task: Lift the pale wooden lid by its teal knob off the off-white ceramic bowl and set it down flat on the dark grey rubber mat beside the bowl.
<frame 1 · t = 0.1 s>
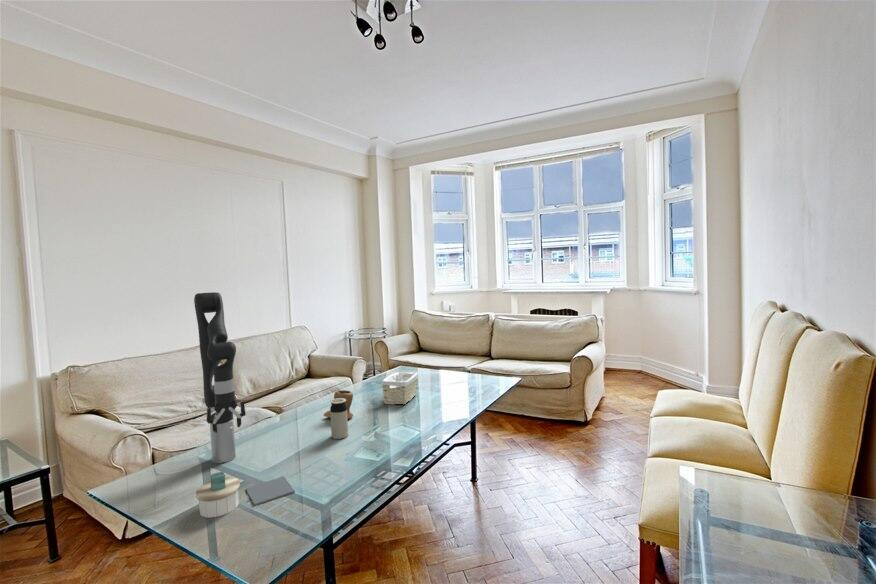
hand: (227, 429, 175), 17 cm above the table, tool pointing down, fingers open, 8 cm apart
travel mug: (340, 436, 208), on the table
lid: (218, 490, 147), point 6 cm above the table, touching bowl
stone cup: (340, 417, 234), on the table
mat: (270, 490, 158), on the table
bowl: (219, 507, 148), on the table
storage basket: (401, 399, 263), on the table
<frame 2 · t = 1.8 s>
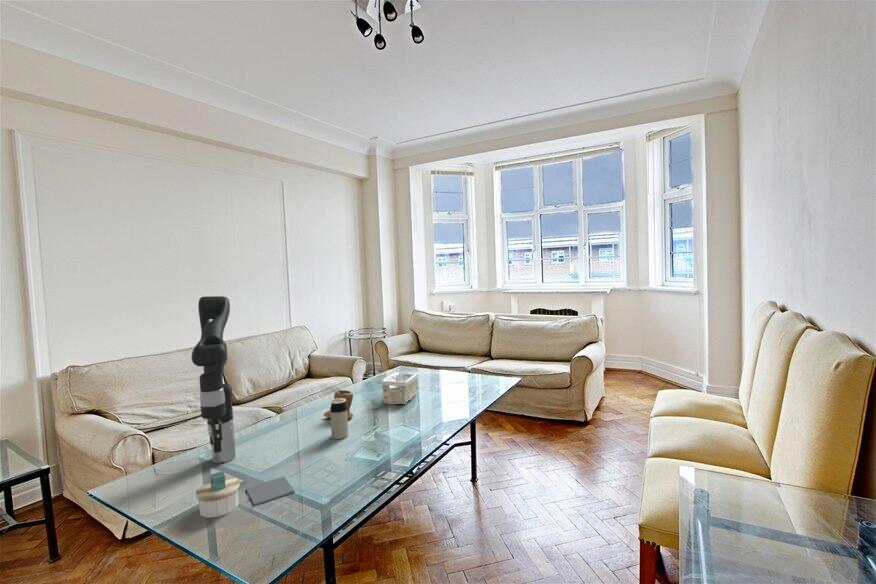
hand: (215, 448, 147), 21 cm above the table, tool pointing down, fingers open, 8 cm apart
nothing on the table moved.
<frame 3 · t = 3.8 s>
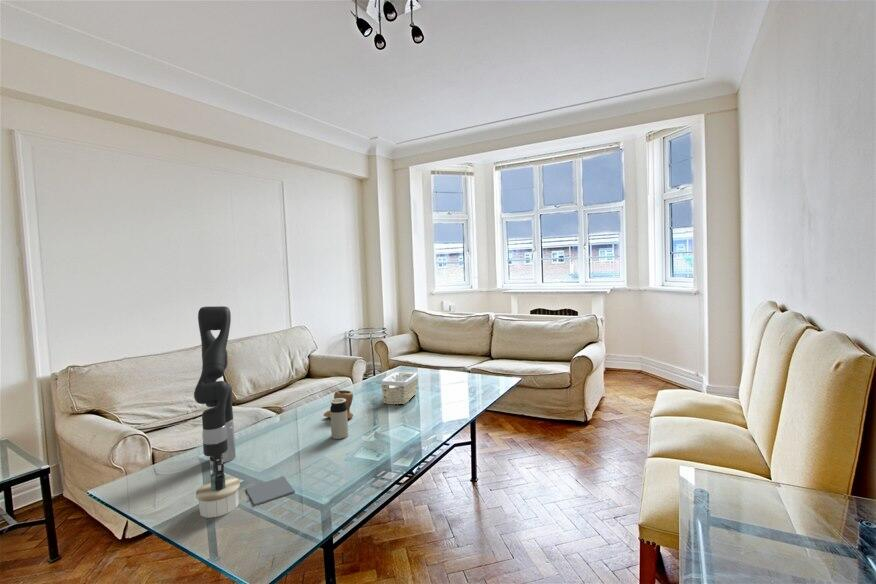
hand: (218, 486, 147), 7 cm above the table, tool pointing down, fingers closed on lid, 4 cm apart
lid: (218, 490, 147), point 6 cm above the table, touching bowl, gripper
everything else where it was.
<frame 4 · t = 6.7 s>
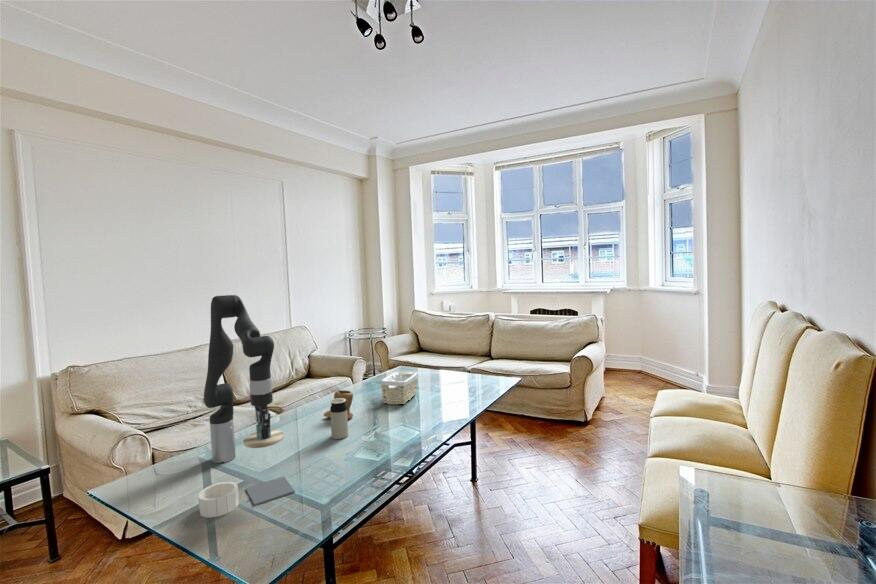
hand: (263, 436, 156), 21 cm above the table, tool pointing down, fingers closed on lid, 4 cm apart
lid: (264, 440, 156), point 20 cm above the table, touching gripper
everything else where it was.
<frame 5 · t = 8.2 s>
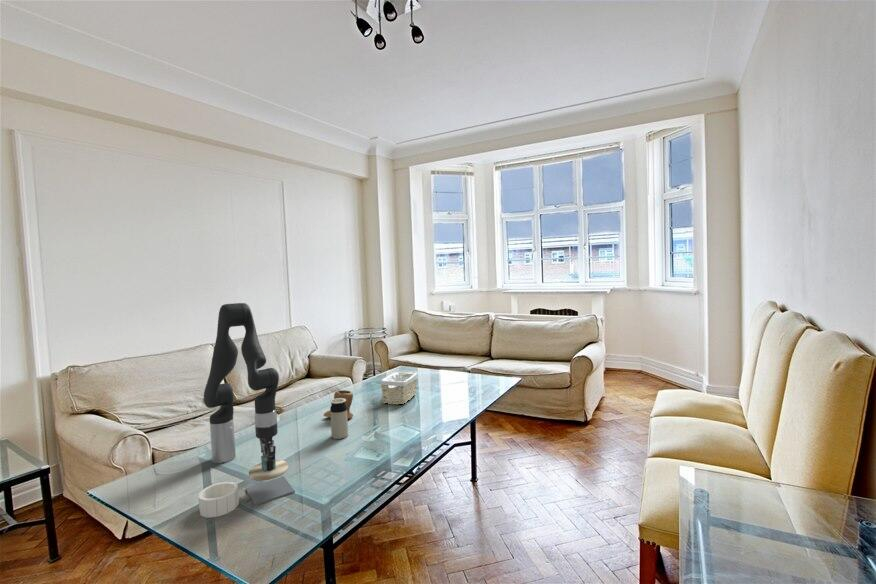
hand: (268, 467, 157), 9 cm above the table, tool pointing down, fingers closed on lid, 4 cm apart
lid: (268, 471, 157), point 7 cm above the table, touching gripper
everything else where it was.
when the fingers open (3 cm above the table, at t = 9.7 s): lid drops 1 cm, resting on mat.
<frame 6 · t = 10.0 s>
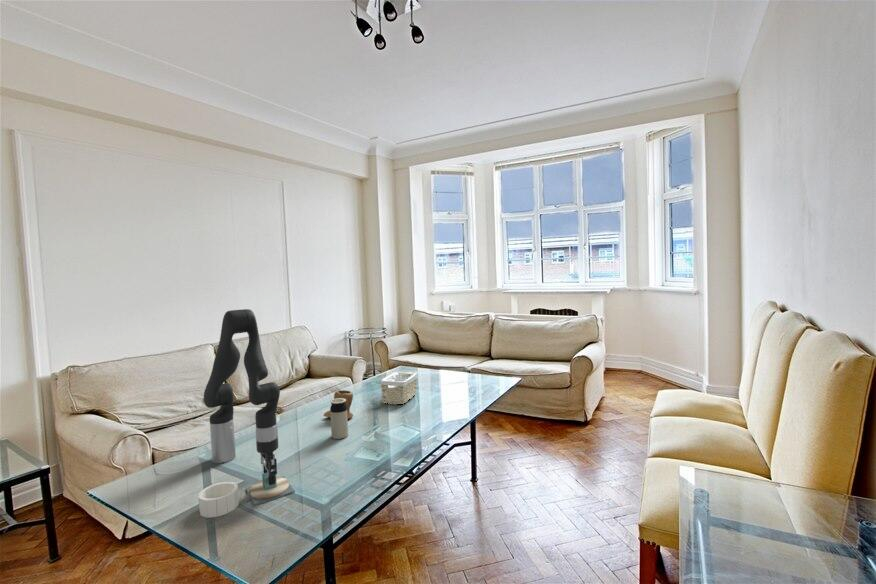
hand: (269, 480, 157), 4 cm above the table, tool pointing down, fingers open, 6 cm apart
lid: (269, 489, 158), point 1 cm above the table, touching mat
everything else where it was.
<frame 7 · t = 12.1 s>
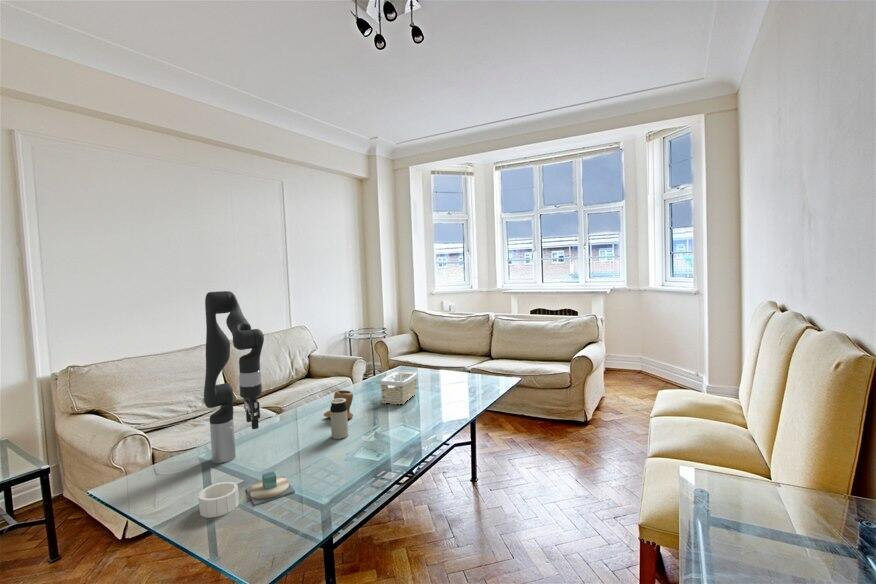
hand: (252, 425, 159), 24 cm above the table, tool pointing down, fingers open, 8 cm apart
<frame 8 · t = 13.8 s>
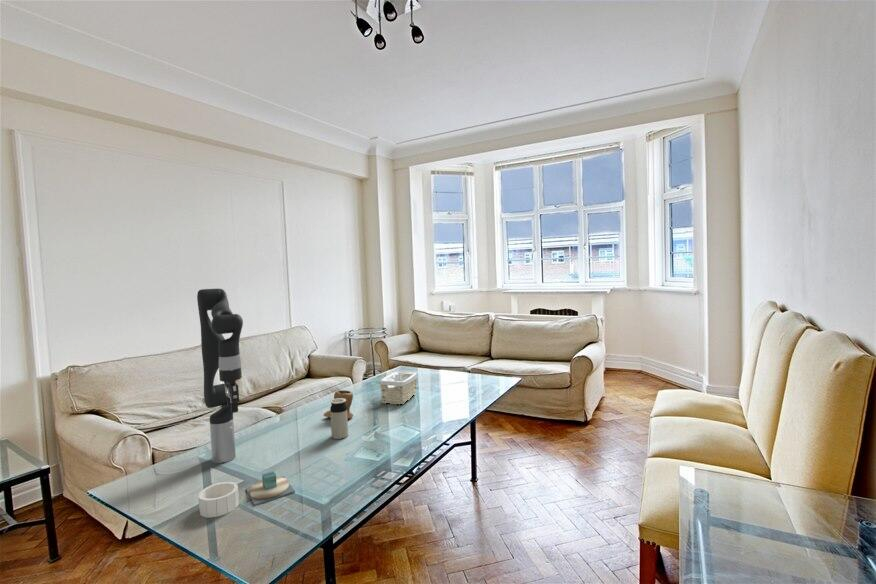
hand: (232, 409, 160), 30 cm above the table, tool pointing down, fingers open, 8 cm apart
at the end: lid inside the target area on the mat (0.1 cm from its centre), point 0.6 cm above the mat's base; lid tilted 0°; lid touching mat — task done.
